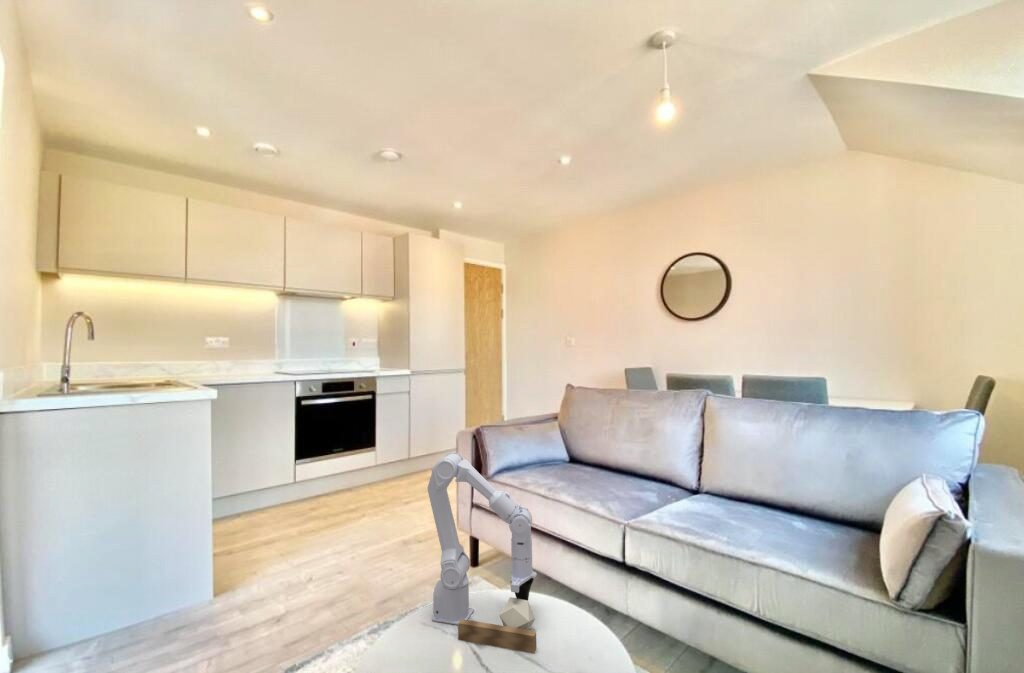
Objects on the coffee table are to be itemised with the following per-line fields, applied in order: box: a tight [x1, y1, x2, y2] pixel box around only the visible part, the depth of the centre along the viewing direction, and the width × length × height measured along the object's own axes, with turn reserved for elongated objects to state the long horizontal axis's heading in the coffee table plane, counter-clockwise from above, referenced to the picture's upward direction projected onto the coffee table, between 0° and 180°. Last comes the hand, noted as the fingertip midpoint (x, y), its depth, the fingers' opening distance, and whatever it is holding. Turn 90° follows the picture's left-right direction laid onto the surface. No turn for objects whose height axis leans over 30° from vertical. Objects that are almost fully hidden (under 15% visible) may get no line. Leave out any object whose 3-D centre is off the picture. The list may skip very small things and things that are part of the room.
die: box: [499, 597, 536, 630], centre depth 113 cm, size 8×9×10 cm
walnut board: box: [457, 619, 537, 654], centre depth 108 cm, size 20×2×4 cm, turn 73°
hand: (522, 607), depth 118 cm, fingers closed
